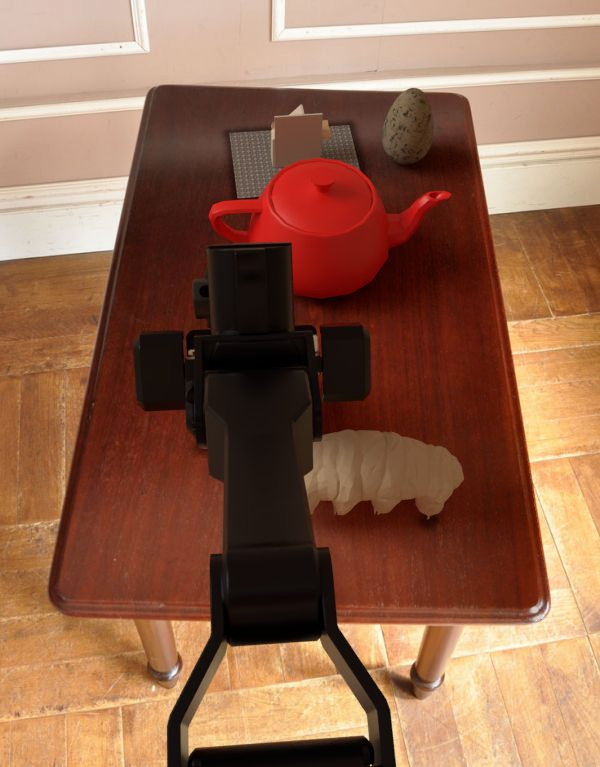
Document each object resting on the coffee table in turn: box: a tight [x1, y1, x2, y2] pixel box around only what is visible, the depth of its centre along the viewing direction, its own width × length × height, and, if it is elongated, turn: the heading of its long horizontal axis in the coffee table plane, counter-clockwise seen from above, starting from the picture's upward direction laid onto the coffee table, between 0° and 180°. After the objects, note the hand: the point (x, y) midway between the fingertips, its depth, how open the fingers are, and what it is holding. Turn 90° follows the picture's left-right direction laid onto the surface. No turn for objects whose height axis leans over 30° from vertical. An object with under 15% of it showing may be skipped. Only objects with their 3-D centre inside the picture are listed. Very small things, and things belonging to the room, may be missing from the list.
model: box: [304, 429, 465, 520], centre depth 75 cm, size 7×18×10 cm, turn 90°
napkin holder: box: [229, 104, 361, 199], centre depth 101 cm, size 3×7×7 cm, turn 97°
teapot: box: [207, 158, 452, 299], centre depth 90 cm, size 25×16×12 cm, turn 92°
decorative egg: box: [381, 87, 435, 166], centre depth 100 cm, size 6×6×10 cm
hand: (252, 350), depth 77 cm, fingers closed on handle, 3 cm apart
